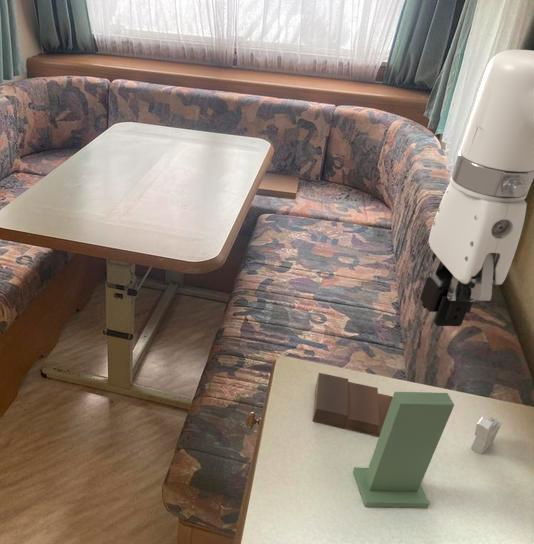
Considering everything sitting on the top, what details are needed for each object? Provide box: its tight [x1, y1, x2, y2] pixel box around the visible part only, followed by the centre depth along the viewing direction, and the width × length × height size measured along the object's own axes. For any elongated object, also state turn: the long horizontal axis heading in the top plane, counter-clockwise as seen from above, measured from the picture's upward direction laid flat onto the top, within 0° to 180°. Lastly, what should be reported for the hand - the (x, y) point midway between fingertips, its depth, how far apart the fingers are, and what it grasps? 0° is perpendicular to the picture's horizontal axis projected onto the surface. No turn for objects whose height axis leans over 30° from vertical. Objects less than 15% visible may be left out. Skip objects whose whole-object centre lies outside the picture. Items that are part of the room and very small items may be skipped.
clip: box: [419, 273, 475, 314], centre depth 69 cm, size 3×5×4 cm, turn 92°
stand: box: [352, 391, 455, 509], centre depth 79 cm, size 6×9×18 cm, turn 91°
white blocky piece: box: [470, 416, 503, 455], centre depth 88 cm, size 7×2×8 cm, turn 130°
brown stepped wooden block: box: [312, 372, 393, 438], centre depth 95 cm, size 15×9×3 cm, turn 75°
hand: (440, 314), depth 71 cm, fingers closed on clip, 2 cm apart
